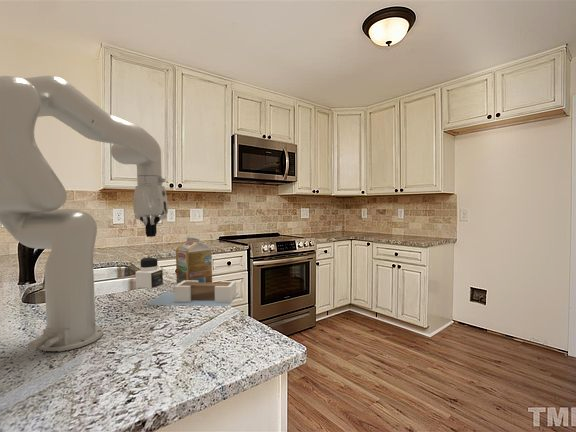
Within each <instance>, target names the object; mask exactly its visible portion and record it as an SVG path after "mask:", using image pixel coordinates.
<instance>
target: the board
mask: <svg viewBox="0 0 576 432" xmlns="http://www.w3.org/2000/svg"><path fill="white" fill-rule="evenodd" d="M238 295H239V292H236V297H237V296H238ZM234 299H235V298H234ZM234 299H233V300H232V301H231V302H215V300H191V301H190V302H174V291H173V292H172V291H165V292H163V293H162V294H160V295H158V296H157V297H155V298H154V299H152V300H150V301H149V302H147V303H145V304H144V305H145V306H187V307H189V306H194V307H195V306H198V307H200V306H201V307H229V305H231V304H232V302H233V301H234Z"/></svg>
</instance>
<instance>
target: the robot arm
mask: <svg viewBox="0 0 576 432" xmlns="http://www.w3.org/2000/svg"><path fill="white" fill-rule="evenodd" d="M41 117H53V118H55V119H56V120H58V121H59V122H61V123H63V125H66V126H67V127H69V128H71V129H72V130H74V131H75V132H77V133H78V134H80V135H81V136H83V137H84V138H86V139H88V140H91V141H96V142H100V143H106V144H112V145H111V147H110V153H111V154H110V155H111V156H112V158H113V159H114V160H115V161H116V162H117V163H119V164H122V165H136V176H137V177H136V180H137V182H136V183H137V185H136V186H135V187H134V194H133V203H132V204H133V207H132V209H133V214H134V219H135V220H139V221H141V222H142V223H143V225H145V234H146V237H147V238H152V237H153V238H154V237H157V225H158V224H159V222H160V221H161V220H165V219H167V218H168V217H167V215H168V213H169V206H168V204H169V203H168V196H167V191H166V187H165V186H164V185H163V183H166V178H164V177H163V176H162V175H163V174H162V173H163V172H162V149H161V146H160V144H159V143H158V141H157V140H156V138H155V137H153V136H152V135H151V134H150V133H148V131H147V130H145V129H144V128H143V127H141V126H139V125H137V124H135V123H133V122H130V121H128V120H125V119H124V118H120V117H118V116H116V115H113V114H110V113H108V112H106V111H105V110H104V109H102V108H101V107H100V106H99V105H97V104H96V103H95V102H94V101H92V100H91V99H90V98H88V97H87V96H86V95H85V94H84V93H83V92H81V91H80V90H79V89H77V88H76V87H75V86H74V85H73V84H71V83H70V82H69V81H68V80H66V79H64V78H63V77H59V76H55V75H40V76H33V77H18V76H15V75H0V224H1V226H3V228H5V230H6V231H7V232H8V233H9V234H10V235H11V236H12V237H13V238H14V239H15V240H16V241H17V242H19V243H20V244H21V245H23V246H25V247H27V248H31V249H39V250H50V252H49V255H48V257H47V259H46V261H45V264H44V265H45V266H44V272H43V274H44V276H43V278H44V294H45V297H44V298H45V316H46V318H45V319H46V320H45V321H46V328H43V329H42V334H41V335H40V337H37V338H35V339H33V340H31V341H29V342H28V343H27V348H28V350H30V351H36V350H37V349H39V350H40V351H42V350H43V351H42V352H46V351H58V352H64V351H65V350H66V351H70V350H75V349H79V348H81V347H84V346H87V345H90V344H92V343H94V342H96V341H98V340H99V339H100V338H101V337H102V336H103V334H104V329H103V327H102V326H99V325H96V305H95V304H96V303H95V273H94V251H95V244H96V239H97V236H98V227H97V221H96V220H95V219H94V217H93V216H92V215H91V214H90V213H88V212H86V211H84V210H80V209H73V208H63V209H62V208H61V207H63V206H64V205H65V204H66V202H67V197H68V195H67V191H66V189H65V186H64V185H63V183H62V182H61V180H60V178H59V177H58V175H57V174H56V173H55V171H54V169H53V168H52V167H51V165H50V164H49V163H48V161H47V160H46V158H45V157H44V155H43V153H42V152H41V150H40V148H39V147H38V144H37V142H36V137H35V127H36V123H37V119H38V118H41ZM60 208H61V209H60ZM66 351H65V352H66Z"/></svg>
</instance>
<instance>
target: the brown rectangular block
mask: <svg viewBox="0 0 576 432" xmlns="http://www.w3.org/2000/svg"><path fill="white" fill-rule="evenodd" d="M229 284H230V283H220V282H212V283H194V282H184V283H183V284H181V285H180V286H191V300H215V286H228V285H229Z"/></svg>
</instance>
